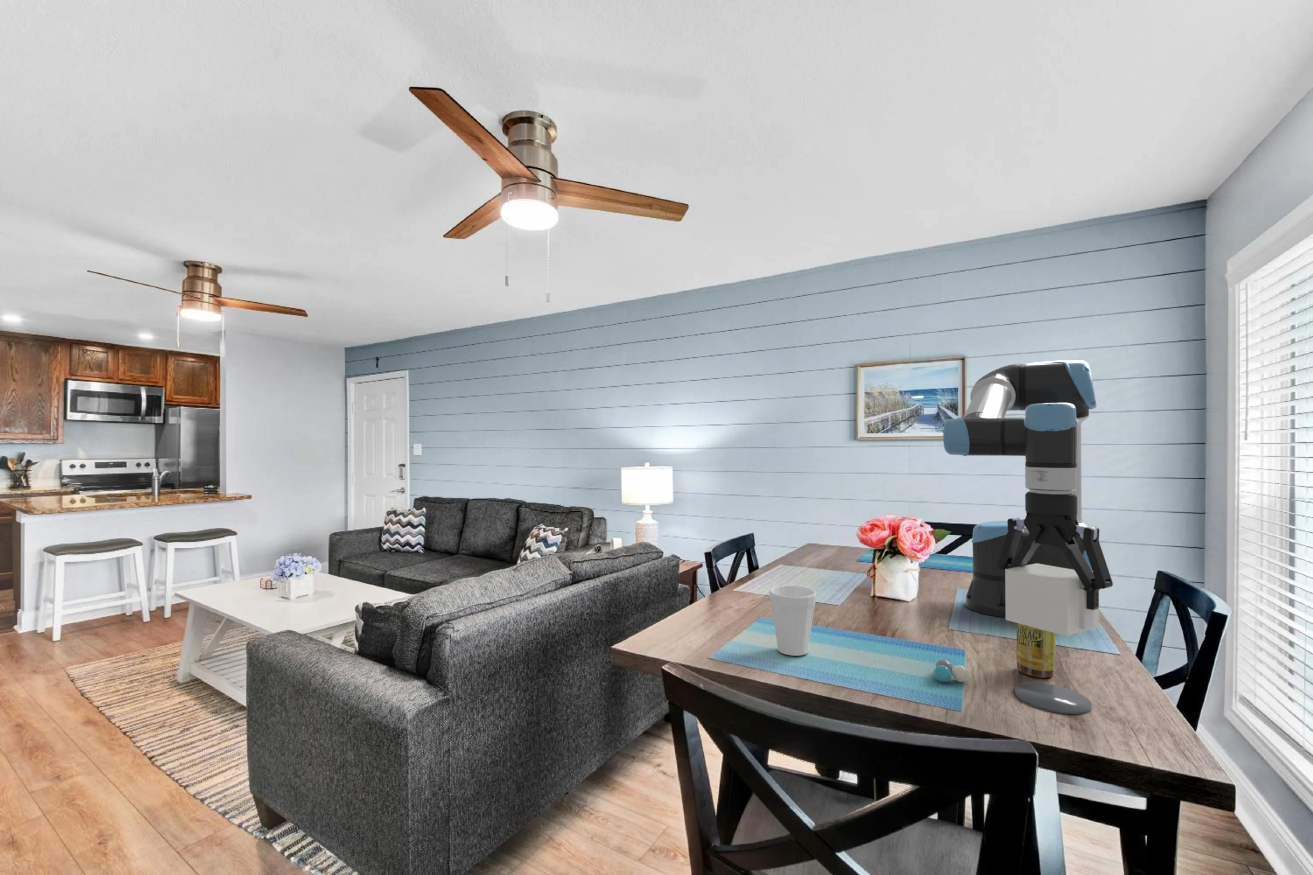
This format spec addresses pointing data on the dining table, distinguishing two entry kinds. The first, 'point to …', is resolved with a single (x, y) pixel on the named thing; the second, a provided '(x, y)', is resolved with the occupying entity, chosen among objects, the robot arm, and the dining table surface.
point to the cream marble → (960, 673)
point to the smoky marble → (945, 664)
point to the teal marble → (942, 673)
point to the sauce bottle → (1035, 651)
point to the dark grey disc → (1053, 698)
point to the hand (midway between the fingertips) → (1051, 618)
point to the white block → (1045, 598)
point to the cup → (792, 617)
